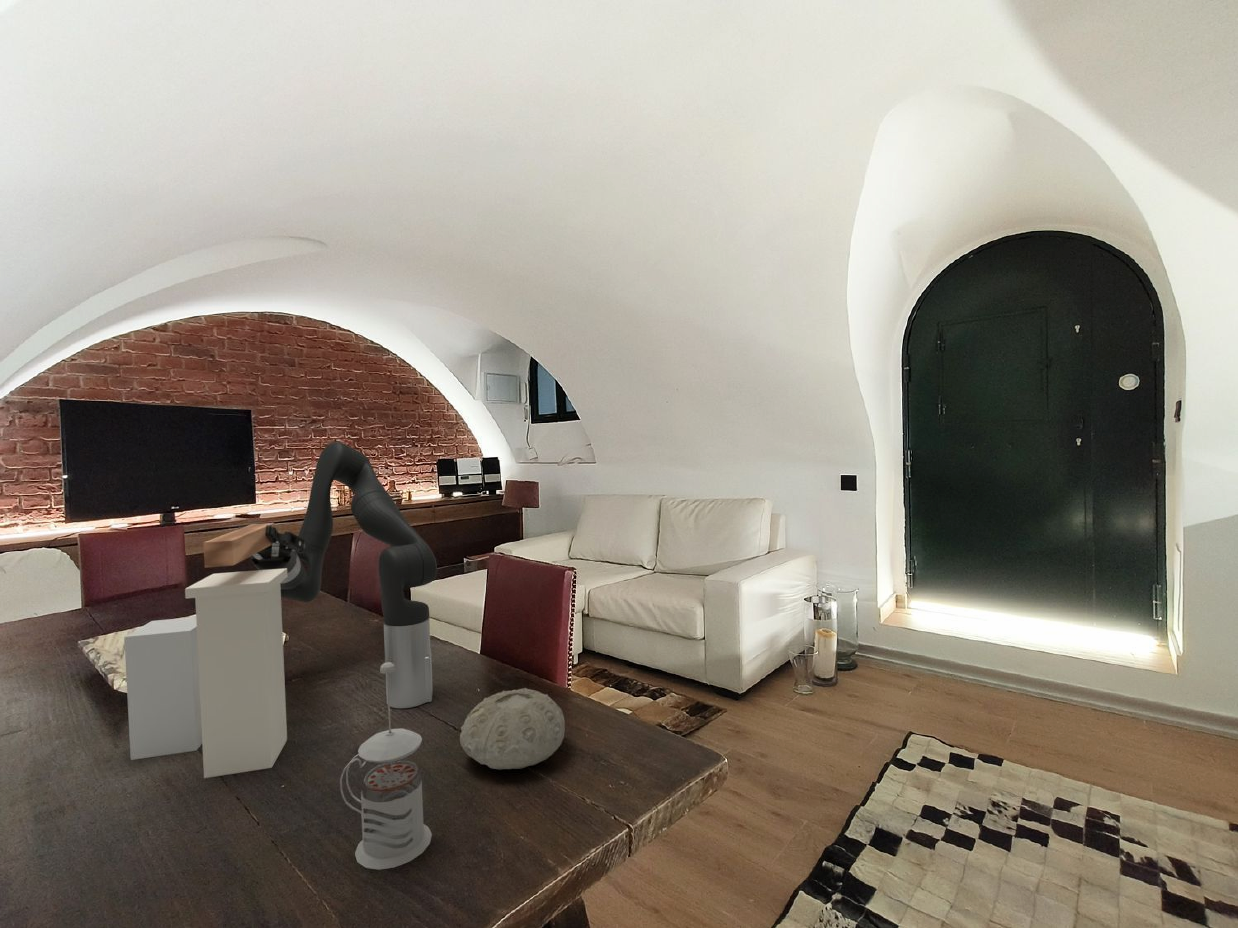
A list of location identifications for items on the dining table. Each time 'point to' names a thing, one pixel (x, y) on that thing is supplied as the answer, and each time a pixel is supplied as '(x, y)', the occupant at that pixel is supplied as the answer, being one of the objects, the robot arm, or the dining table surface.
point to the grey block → (163, 688)
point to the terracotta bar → (236, 545)
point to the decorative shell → (513, 729)
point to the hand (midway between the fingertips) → (254, 530)
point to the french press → (398, 828)
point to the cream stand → (240, 670)
